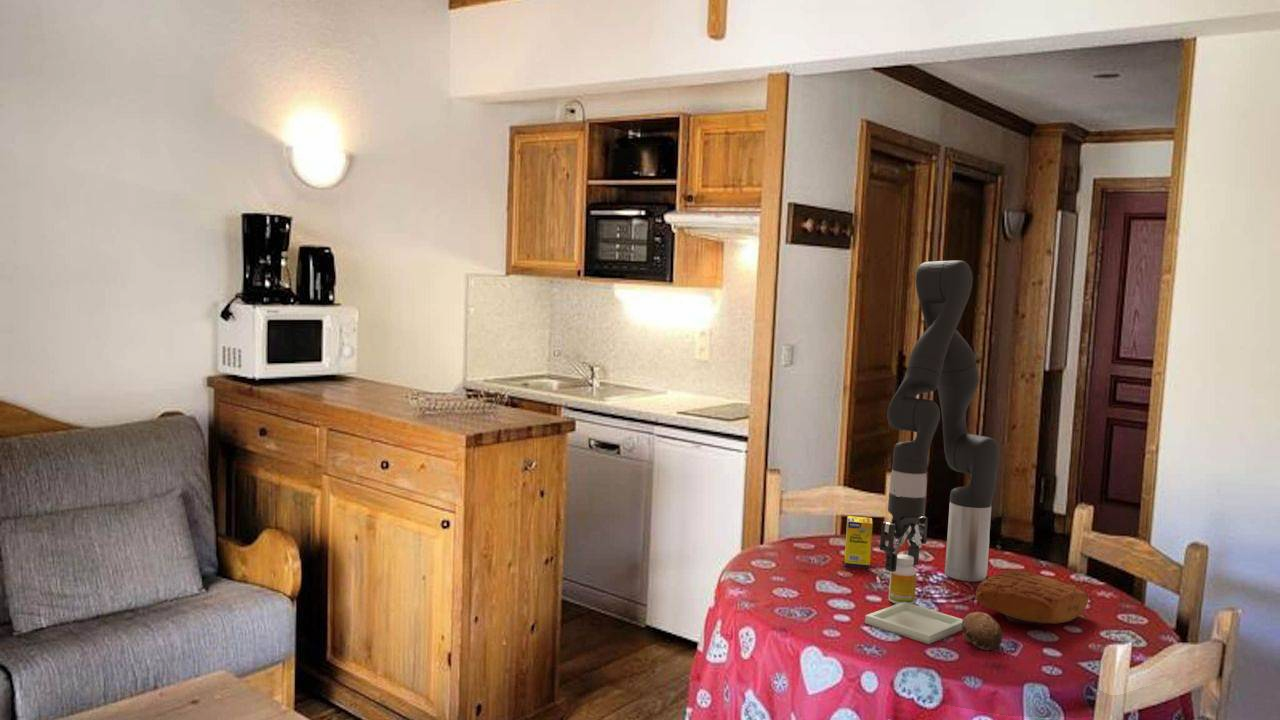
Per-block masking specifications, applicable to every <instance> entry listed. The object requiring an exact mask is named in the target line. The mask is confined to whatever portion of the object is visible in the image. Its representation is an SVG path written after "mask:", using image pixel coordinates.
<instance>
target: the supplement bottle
mask: <svg viewBox="0 0 1280 720" xmlns="http://www.w3.org/2000/svg"><path fill="white" fill-rule="evenodd" d="M913 564H914V557H912V556H909V555H908V554H901V553H900V554H899V553H897V566H896V571H894V572H891V571H889V583H888V584H889V585H888V600H889V602H891V603H893V604H894V605H896V604H899V603H901V602H907V603H911V604H915V600H916V585H917V569H916V567H914V565H913Z"/></svg>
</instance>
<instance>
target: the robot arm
mask: <svg viewBox="0 0 1280 720" xmlns="http://www.w3.org/2000/svg"><path fill="white" fill-rule="evenodd" d="M973 279H974V278H973V272H972V269H971V267H970V265H969V264H968V263H967V262H966V261H964V260H937V261H936V260H935V261H925V262H922V263H921V264H919V265H918V267H917V270H916V274H915V287H916V294H917V298H918V302H919V306H920V308H921V309H920V310H921V312H922V316H923V320H924V323H925V327H926V330H925V331H924V333H922V335H921V336H920V337H919V338H918V339H917V341H916V343H915V344H914V346H913V348H912V350H911V352H910V357H909V359H908V360H909V361H908V364H907V368H906V372H905V376H904V378H903V379H902V381H901V384H900V385H899V387H898V388H897V391H896V392H895V394H894V395H893V397H892V399H891V400H890V402H889V404H888V407H887V412H886V418H887V422H888V424H889V426H890V427H892V429H894V430H899V431H907V432H913V433H917V436H916V437H915V439H914V440H910V441H899V442H897V443H896V444H895V445H894V446H893V452H892V465H891V474H890V478H889V490H888V491H889V492H888V501H887V502H888V503H887V512H888V514H890V515H891V516H892V518H891V522H888V521H887V522H886V521H883V522H882V524H881V532H880V542H879V551H883V552H885V562H884V563H885V564H884V565H885V567H884V568H885V571H888V572H890V571H891V572H894V571H896V566H897V555H898V551H899V549H900V547H902V546H903V545H904V544H905V542H906V541H907V543H908V550H907V551H908V552H907V555H909V556H912V557H914V564H913V565H912V566H913V567H914V566H918V565H919V559H920V558H919V557H920V549H921V548H922V546H923V545H926V544H927V538H928V536H927V535H928V517H927V516H925V511H926V510H925V509H926V500H927V487H928V486H927V485H928V479H927V470H928V469H927V468H928V458H929V452H930V448H931V444H932V442H933V441H932V440H933V439H934V436H935V434H936V431H937V428H938V425H939V423H940V419H942V421H941V422H942V436H943V450H944V455H945V456H944V458H945V461H946V463H947V465H948V467H949V468H950V469H951V470H953V471H955V472H958V473H962V474H967V475H970V479H969V483H968V484H967V485H964V486H958V487H954V488H952V489H951V491H950V495H949V505H948V506H949V507H948V508H949V509H948V521H947V522H948V523H947V534H946V535H947V537H946V548H945V549H946V550H945V551H946V552H945V563H944V565H945V566H944V574H945V576H947V577H949V578H951V579H954V580H959V581H964V582H982V581H984V580H986V579H987V576H988V564H989V552H990V551H989V550H990V538H991V537H990V530H991V516H992V505H993V504H992V502H993V498H994V494H995V491H996V489H997V488H996V486H997V480H998V479H997V477H998V472H999V471H998V470H999V465H1000V449H999V444H998V443H997V441H996V439H994V438H992V437H988V436H984V435H979V434H973V433H969V430H968V426H967V411H968V407H969V405H970V404H971V403H972V402H971V401H972V400H973V398H974V396H975V394H976V392H977V388H978V386H979V373H978V367H977V360H976V355H975V353H974V351H973V349H972V347H971V346H970V344H969V343H968V342H967V341H966V339H965V338H964V337H963V336H962V335H961V334H960V332H959V331H958V330H957V328H958V325H959V323H960V321H961V318H962V316H963V313H964V311H965V309H966V305H967V304H968V302H969V298H970V295H971V293H972V288H973V281H974V280H973ZM935 391H937V393H938V398H939V404H940V407H939V406H938V404H937V402H935V401H934V400H932V399H927V398H925V399H924V398H917V397H916V396H919V395H920V394H926V393H931V392H935ZM940 410H941V411H940ZM886 541H887V542H886Z"/></svg>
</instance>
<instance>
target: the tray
mask: <svg viewBox="0 0 1280 720" xmlns="http://www.w3.org/2000/svg"><path fill="white" fill-rule="evenodd" d="M963 619H964V618H960V617H956V616H953V615H951V614H946V613H943V612H941V611H937V610H934V609H930V608H926V607H923V606H920V605H916V604H915V603H913V604H911V603H907V602H901V603H899V604H893V605H891V606H888V607H885V608H883V609H879V610H877V611H874V612H871V613H869V614H865V619H864V622H865V624H867V625H870V626H872V627H875V628H878V627H879V629H881V630H885V631H888V632H890V633H893V634H895V635H899V636H901V637H902V636H903V637H905V638H908V639H911V640H914V641H917V642H921V643H924V644H927V645H931V644H932V643H935V642H937V641H940V640H942V639H945V638H947V637H950V636H952V635H954V634H957V633H959V632H961V631H963V629H962V620H963Z"/></svg>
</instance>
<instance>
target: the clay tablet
mask: <svg viewBox="0 0 1280 720" xmlns="http://www.w3.org/2000/svg"><path fill="white" fill-rule="evenodd" d="M980 582H981V583H980V584H979V585H978V587H976V590H975V593H976V594H975V600H976V601H977V602H978V603H980V604H981V605H983V606H985V607H987V608H989V609H992V610H993V611H994V612H995V611H996V612H998V613H1000V614H1003V615H1004V616H1007V617H1010V618H1014V619H1016V620H1022V621H1027V622H1032V623H1039V624H1061V623H1062V624H1063V623H1068V622H1071V621H1072V620H1074V619H1076V618H1077V617H1079V616H1080V615H1081V614H1082V613H1083V612H1084V610H1086V608H1087V605H1088V602H1089V597H1088V594H1087V592H1085V591H1083V590H1082V589H1079V588H1078V587H1076V586H1074V585H1069V584H1066V583H1063V582H1062V581H1059V580H1057V579H1054V578H1051V577H1048V576H1043V575H1040V574H1039V575H1038V574H1036V573H1033V572H1029V571H1028V572H1026V571H1021V570H1018V569H1017V570H1010V571H1008V572H1007V571H1004V572H1003V571H1002V572H1000V573H997V574H994V575H991V576H988V578H986V579H985V580H983V581H980Z"/></svg>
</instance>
